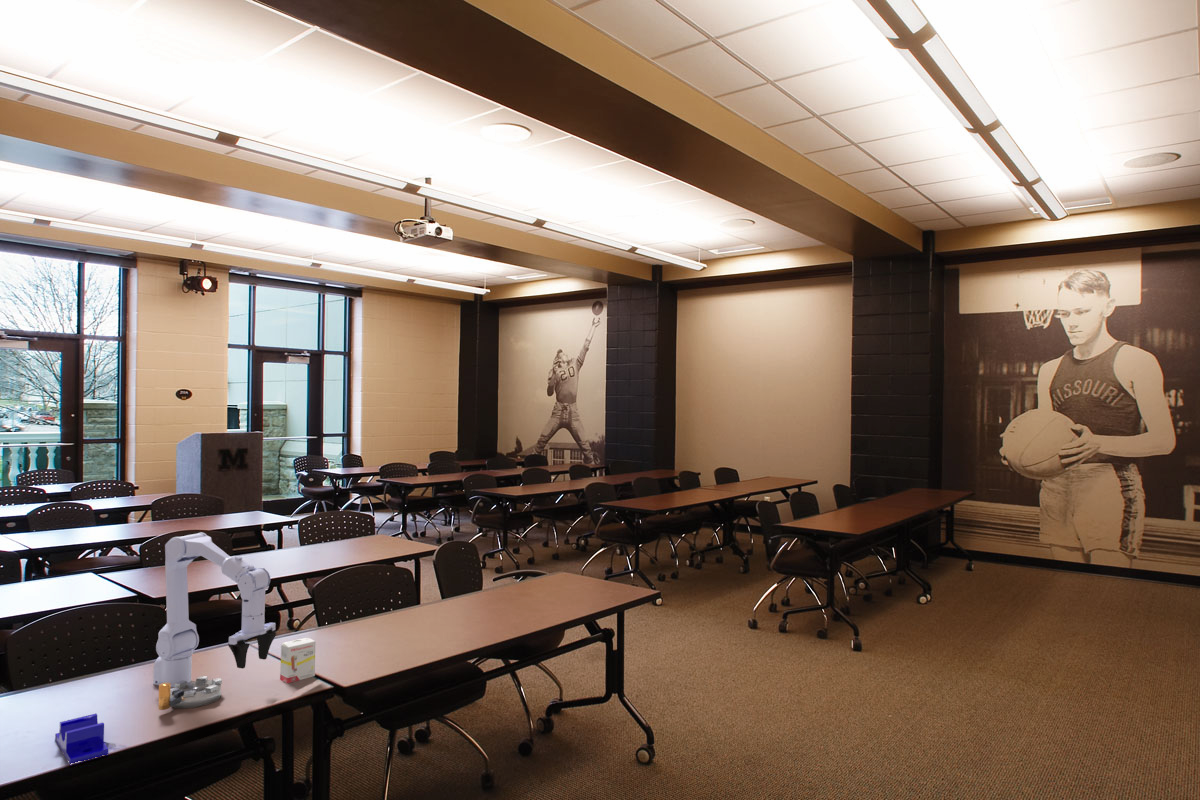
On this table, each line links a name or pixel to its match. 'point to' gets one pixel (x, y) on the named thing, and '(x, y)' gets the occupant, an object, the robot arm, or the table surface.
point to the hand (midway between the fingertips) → (252, 663)
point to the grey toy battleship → (189, 693)
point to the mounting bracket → (81, 738)
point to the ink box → (297, 660)
